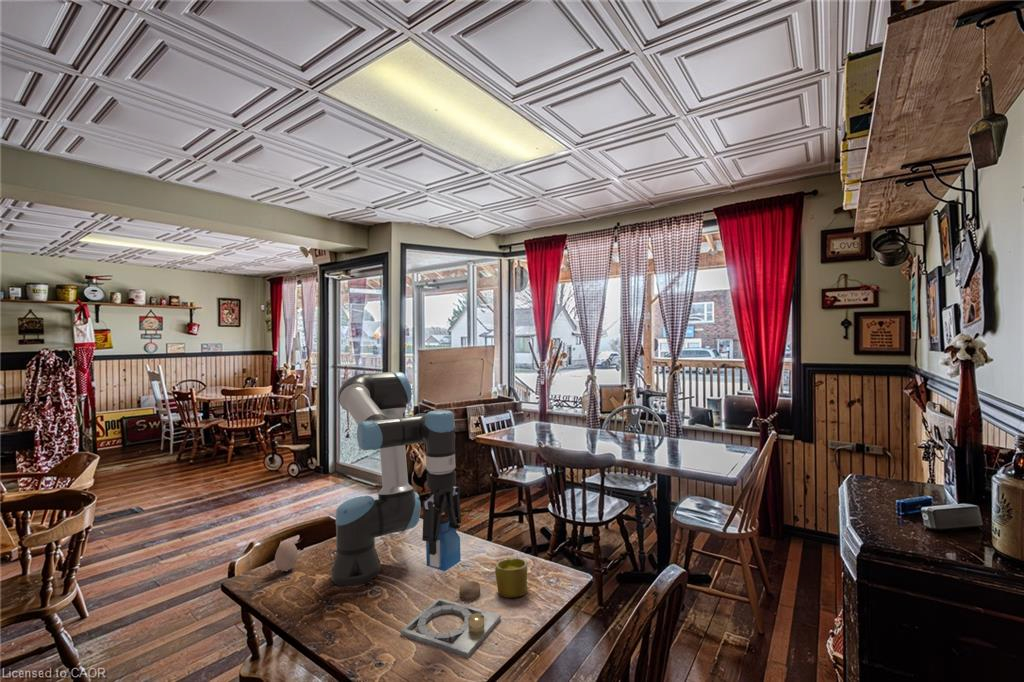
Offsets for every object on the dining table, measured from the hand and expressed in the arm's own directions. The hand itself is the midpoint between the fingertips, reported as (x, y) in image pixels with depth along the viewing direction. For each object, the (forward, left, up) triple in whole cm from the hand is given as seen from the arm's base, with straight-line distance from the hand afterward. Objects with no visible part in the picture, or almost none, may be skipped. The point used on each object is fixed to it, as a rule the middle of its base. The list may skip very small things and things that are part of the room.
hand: (443, 559), depth 115 cm
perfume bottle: (0, 0, -1) cm, 1 cm away
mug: (+8, +23, -17) cm, 30 cm away
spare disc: (-2, +15, -17) cm, 23 cm away
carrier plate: (+2, 0, -17) cm, 17 cm away
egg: (-65, +2, -17) cm, 67 cm away
